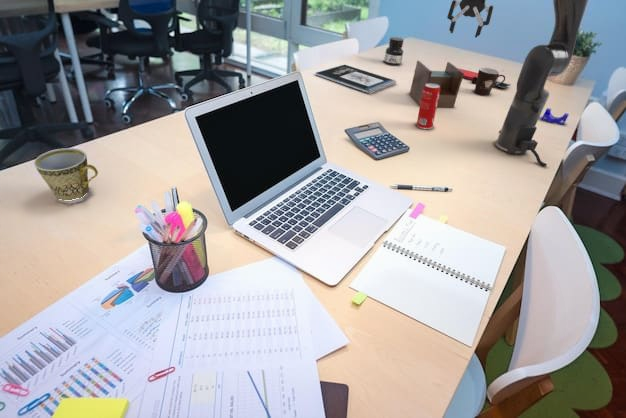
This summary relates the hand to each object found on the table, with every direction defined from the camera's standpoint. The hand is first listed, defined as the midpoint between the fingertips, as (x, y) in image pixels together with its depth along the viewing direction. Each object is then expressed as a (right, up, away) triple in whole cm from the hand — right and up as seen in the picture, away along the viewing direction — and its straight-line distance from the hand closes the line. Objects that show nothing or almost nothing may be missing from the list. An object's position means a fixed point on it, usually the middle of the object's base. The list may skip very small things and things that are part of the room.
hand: (463, 35), depth 140 cm
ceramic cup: (-109, -60, -48) cm, 134 cm away
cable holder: (+41, -28, +15) cm, 52 cm away
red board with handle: (+27, +1, +51) cm, 58 cm away
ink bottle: (-13, +13, +63) cm, 66 cm away
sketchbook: (-35, -4, +37) cm, 51 cm away
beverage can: (-14, -33, +1) cm, 36 cm away
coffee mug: (+23, -11, +36) cm, 44 cm away
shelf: (-5, -17, +23) cm, 29 cm away
